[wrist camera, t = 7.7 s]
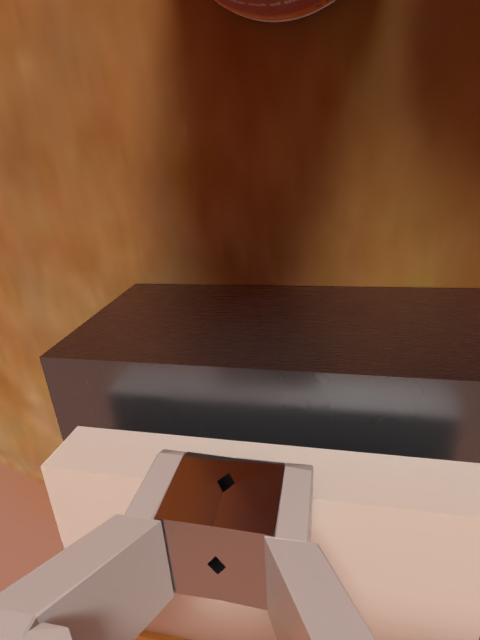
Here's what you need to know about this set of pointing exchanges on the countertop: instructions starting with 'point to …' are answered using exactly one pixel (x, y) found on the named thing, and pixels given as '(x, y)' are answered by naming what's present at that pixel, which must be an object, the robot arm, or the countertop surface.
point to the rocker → (327, 530)
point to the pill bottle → (274, 8)
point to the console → (280, 367)
